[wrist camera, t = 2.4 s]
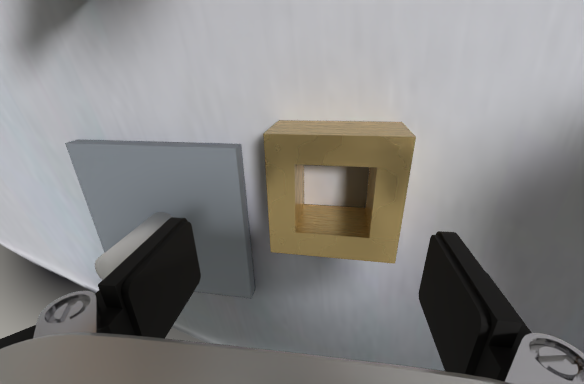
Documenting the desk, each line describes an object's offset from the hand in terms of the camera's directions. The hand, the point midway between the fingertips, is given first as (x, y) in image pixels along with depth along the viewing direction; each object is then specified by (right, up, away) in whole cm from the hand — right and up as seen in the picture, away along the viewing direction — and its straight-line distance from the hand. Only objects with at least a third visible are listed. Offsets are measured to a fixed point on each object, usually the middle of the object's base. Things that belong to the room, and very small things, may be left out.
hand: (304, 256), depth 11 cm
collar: (+2, +3, +7) cm, 8 cm away
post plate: (-10, 0, +10) cm, 14 cm away
